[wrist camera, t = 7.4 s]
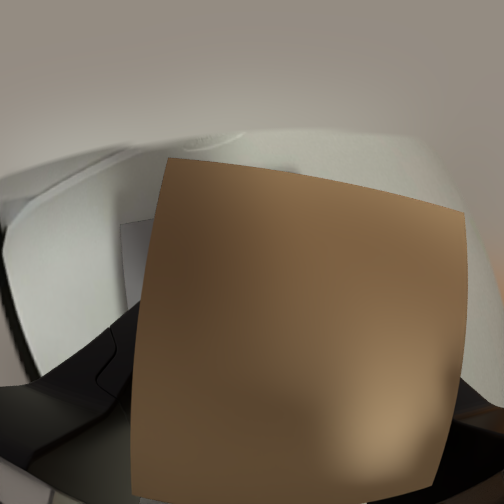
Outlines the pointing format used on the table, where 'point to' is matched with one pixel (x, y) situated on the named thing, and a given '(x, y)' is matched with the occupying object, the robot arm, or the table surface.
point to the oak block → (294, 340)
